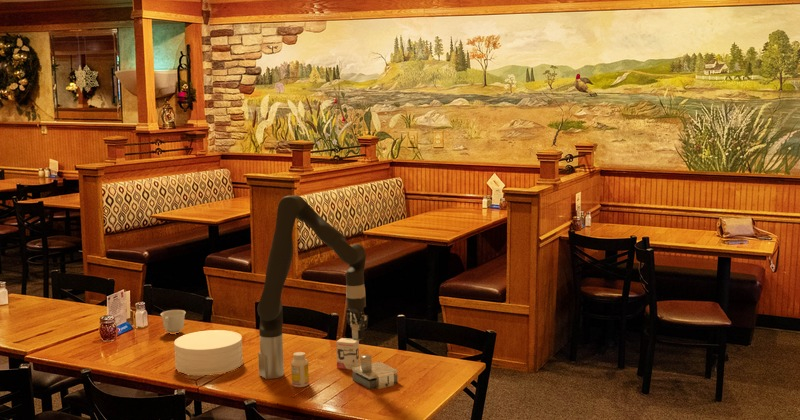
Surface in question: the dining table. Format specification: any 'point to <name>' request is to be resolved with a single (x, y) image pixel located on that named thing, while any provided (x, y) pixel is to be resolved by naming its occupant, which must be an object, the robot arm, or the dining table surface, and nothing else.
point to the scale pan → (375, 370)
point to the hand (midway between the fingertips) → (358, 337)
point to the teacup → (173, 320)
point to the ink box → (347, 353)
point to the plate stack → (208, 352)
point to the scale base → (376, 380)
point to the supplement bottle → (299, 370)
